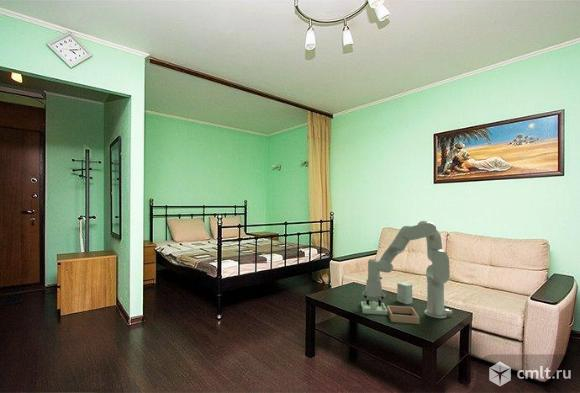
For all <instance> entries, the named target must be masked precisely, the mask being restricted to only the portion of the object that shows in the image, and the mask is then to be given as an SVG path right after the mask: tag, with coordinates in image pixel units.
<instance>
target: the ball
mask: <svg viewBox="0 0 580 393" xmlns="http://www.w3.org/2000/svg"><path fill="white" fill-rule="evenodd" d="M370 302H371V303H370V307H371V308H372V309H376V308H377V307H378V304H377V303H378V302H377V303H376V301H374V300H372V301H370Z"/></svg>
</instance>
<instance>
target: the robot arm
mask: <svg viewBox="0 0 580 393" xmlns="http://www.w3.org/2000/svg"><path fill="white" fill-rule="evenodd" d="M423 238H425V239H426V251H427V252H426V255H427V259H428V260H429V261H430V262H431V263H432V264H429V265H428V266H427V267H426V271H425V272H426V275H425V276H426V283H427V284H426V285H427V286H426V289H427V290H426V295H427V297H426V301H427V302H426V305H427V306H426V309H425V310H424V315H427V316H428V317H430V318H434V319H445V318H447V317H448V314H453V313H454V312H453V309H450V310H449V308H445V284H446V283H448V281H449V280H450V275H451V274H450V273H451V272H450V259H449V258H450V257H449V255H448V253H447V252H446V251H444V250H443V242H442V237H441V234H440V232H439V230H438V228H437V226H436V225H435V224H434V222H431V221H427V220H420V221H419V222H418V223H417V224H416V225H410V226H409V225H404V226H402V227H401V228H400V229H399V231H398V233H397V234H396V236H395V237H394V239H393V241H392V242H391V244H390V245H389V246H388V247H387V249H385V251H384V252H383V254H382V256H381V257H380V259H379V260H378V259H376V258H373V259H372V258H371V259H368V261H367V279H366V283H365V289H364V290H363V291H362V292H361V295H362V296H363V298H365V300H366V301H365V302H366V304H367V305H368V306H369V302H370V299H369V298H370V297H377V298H378V302H377V303H378V305H379V307H380V305H381V303H382V300H383V299H384V298H386V296H387V294H386V293H385V292H384V291H383V290H382V288H383V287H382V280H383V277H382V276H381V272H382V273H391V272H392V271H393V270H394V265H393V264H392V262H393V261H394V259H395V258H396V257H397V256H398V255H400V254H402V253H403V252H404V250H406V247H407V246H408V245H409V244H410V241H416V240H419V239H423Z"/></svg>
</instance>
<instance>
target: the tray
mask: <svg viewBox="0 0 580 393" xmlns="http://www.w3.org/2000/svg"><path fill="white" fill-rule="evenodd" d="M371 302H372V301H369V306H368V305H367V304H366V301H363V300H362V301H360V305H361V307H360V308H361V311H362V314H365V315H366V314H367V315H378V316H389V315H388V311H387V306H386V305H385V303H384V302H381V305H380V307H379V305H378V307H377V308H376V309H372V308H371V307H370V303H371ZM375 302H376V301H375ZM376 303H377V304H378V302H376Z"/></svg>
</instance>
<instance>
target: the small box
mask: <svg viewBox="0 0 580 393" xmlns="http://www.w3.org/2000/svg"><path fill="white" fill-rule="evenodd" d="M396 286H397V289H396V290H397V291H396V292H397V294H396V296H397V297H396V298H397V302H399V303H403V304H405V305H410V304H412V303H413V284H412V283H411V284H410V283H407V282H404V281H402V282H397V284H396Z"/></svg>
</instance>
